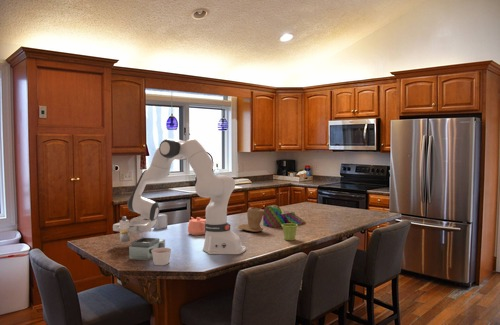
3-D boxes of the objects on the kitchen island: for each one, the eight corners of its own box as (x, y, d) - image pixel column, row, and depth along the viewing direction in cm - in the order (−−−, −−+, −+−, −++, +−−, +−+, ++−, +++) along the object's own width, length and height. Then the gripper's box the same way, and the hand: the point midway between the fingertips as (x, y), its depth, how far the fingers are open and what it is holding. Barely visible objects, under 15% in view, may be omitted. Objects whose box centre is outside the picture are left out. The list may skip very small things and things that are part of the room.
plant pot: (278, 239, 230) (278, 224, 230) (289, 237, 236) (289, 222, 236) (289, 242, 223) (289, 227, 223) (301, 239, 229) (301, 224, 229)
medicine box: (163, 226, 270) (163, 214, 270) (167, 227, 267) (167, 214, 267) (153, 228, 264) (153, 215, 263) (158, 229, 261) (157, 216, 261)
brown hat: (267, 231, 254) (267, 207, 253) (254, 234, 245) (254, 209, 245) (250, 227, 264) (250, 205, 264) (237, 230, 256) (237, 207, 255)
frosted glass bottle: (131, 240, 212) (130, 216, 211) (126, 242, 207) (125, 217, 207) (123, 239, 213) (122, 215, 213) (118, 242, 208) (117, 217, 208)
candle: (167, 266, 179) (166, 252, 179) (148, 265, 181) (148, 252, 180) (174, 261, 188) (174, 247, 188) (156, 260, 190) (156, 247, 189)
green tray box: (166, 250, 207) (165, 236, 206) (149, 260, 189) (148, 244, 189) (147, 249, 209) (147, 235, 209) (129, 259, 192) (129, 243, 192)
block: (281, 229, 260) (281, 207, 259) (263, 225, 272) (263, 205, 272) (305, 224, 277) (305, 203, 276) (287, 220, 289) (287, 201, 289)
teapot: (196, 237, 236) (196, 220, 236) (183, 232, 251) (183, 216, 251) (213, 235, 243) (212, 218, 242) (199, 230, 258) (199, 214, 257)
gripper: (120, 219, 225) (106, 223, 211) (153, 219, 220) (140, 224, 206) (121, 230, 225) (106, 235, 212) (153, 231, 220) (141, 236, 207)
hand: (123, 230), depth 209 cm, fingers closed on frosted glass bottle, 5 cm apart
